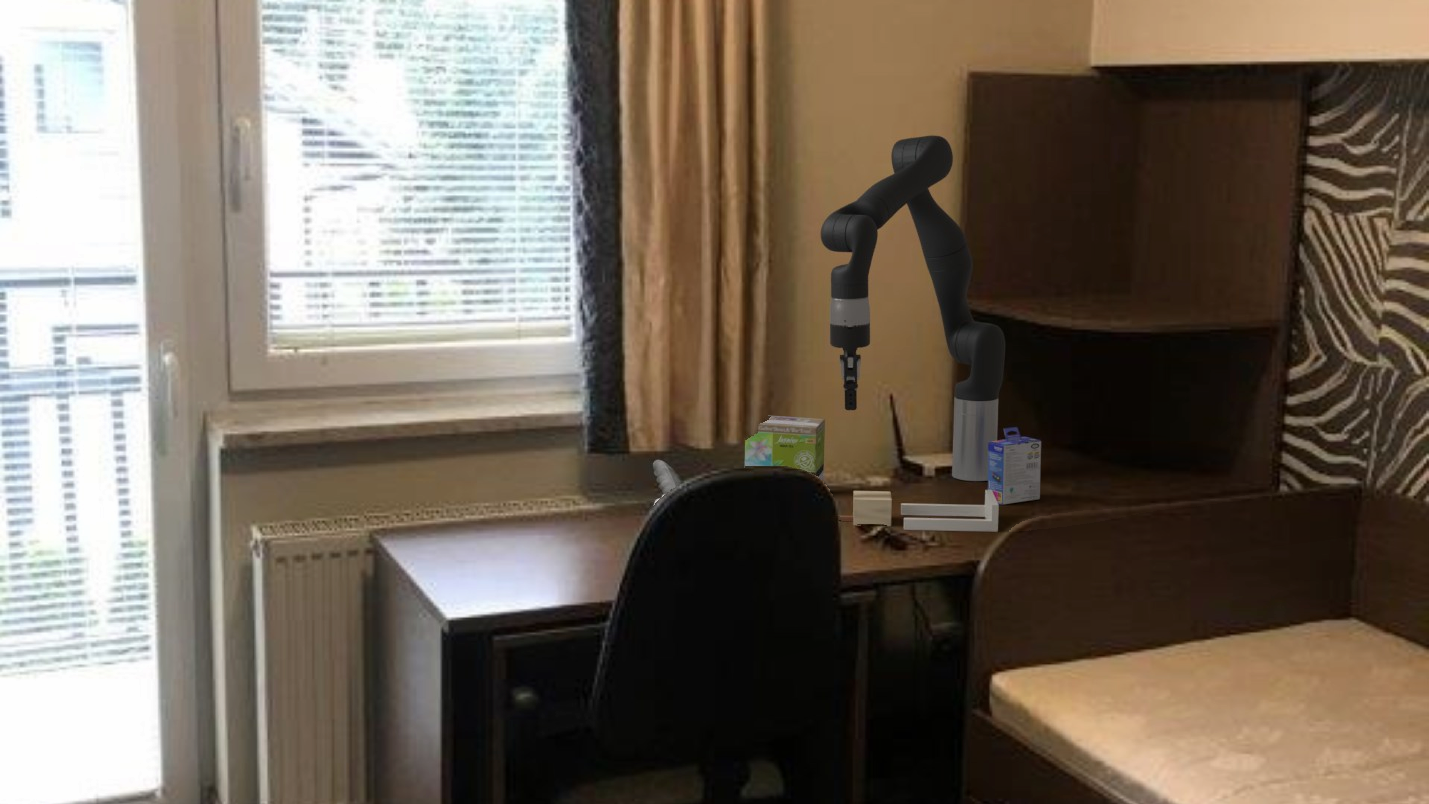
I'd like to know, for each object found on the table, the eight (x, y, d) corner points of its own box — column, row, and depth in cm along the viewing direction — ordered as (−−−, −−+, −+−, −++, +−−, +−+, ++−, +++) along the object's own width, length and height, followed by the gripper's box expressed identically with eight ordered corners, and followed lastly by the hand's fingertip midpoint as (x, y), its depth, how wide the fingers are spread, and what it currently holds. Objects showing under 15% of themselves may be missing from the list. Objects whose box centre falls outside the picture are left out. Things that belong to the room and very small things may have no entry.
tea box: (743, 493, 315) (743, 422, 312) (753, 482, 324) (754, 413, 322) (816, 497, 311) (817, 425, 308) (824, 486, 321) (825, 416, 318)
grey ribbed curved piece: (659, 529, 286) (659, 476, 284) (627, 507, 302) (627, 457, 300) (705, 524, 289) (706, 472, 288) (672, 503, 306) (671, 454, 304)
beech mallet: (783, 514, 297) (783, 484, 296) (889, 517, 295) (890, 486, 294) (781, 523, 290) (782, 492, 289) (891, 526, 288) (891, 494, 287)
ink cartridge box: (1022, 494, 314) (1025, 424, 312) (1041, 499, 309) (1044, 429, 307) (985, 500, 309) (987, 429, 307) (1003, 505, 305) (1005, 433, 302)
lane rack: (900, 513, 298) (901, 488, 297) (990, 515, 297) (991, 489, 296) (903, 529, 286) (904, 503, 285) (997, 531, 285) (998, 505, 284)
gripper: (830, 315, 298) (831, 398, 301) (829, 326, 284) (830, 413, 287) (869, 315, 297) (869, 398, 300) (870, 326, 283) (871, 412, 286)
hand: (850, 405), depth 294 cm, fingers open, 8 cm apart
